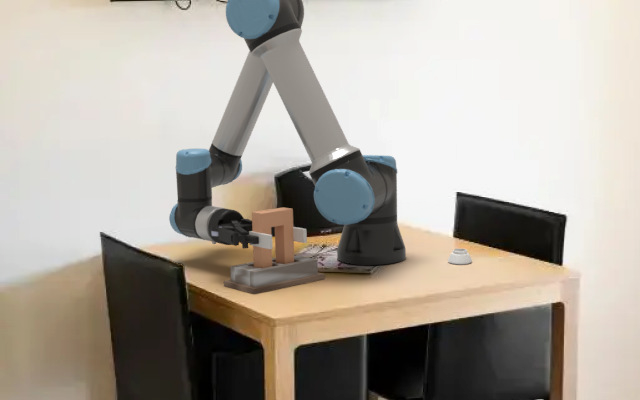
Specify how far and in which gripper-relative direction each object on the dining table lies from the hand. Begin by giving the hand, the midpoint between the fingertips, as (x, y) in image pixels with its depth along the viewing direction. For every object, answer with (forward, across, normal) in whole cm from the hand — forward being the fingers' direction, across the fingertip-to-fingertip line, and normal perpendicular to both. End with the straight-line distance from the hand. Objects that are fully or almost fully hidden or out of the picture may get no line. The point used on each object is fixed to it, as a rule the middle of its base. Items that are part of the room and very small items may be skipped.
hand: (288, 239), depth 210 cm
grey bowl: (+10, -40, -10) cm, 42 cm away
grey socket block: (-5, 0, -10) cm, 11 cm away
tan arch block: (-5, 0, -8) cm, 9 cm away
